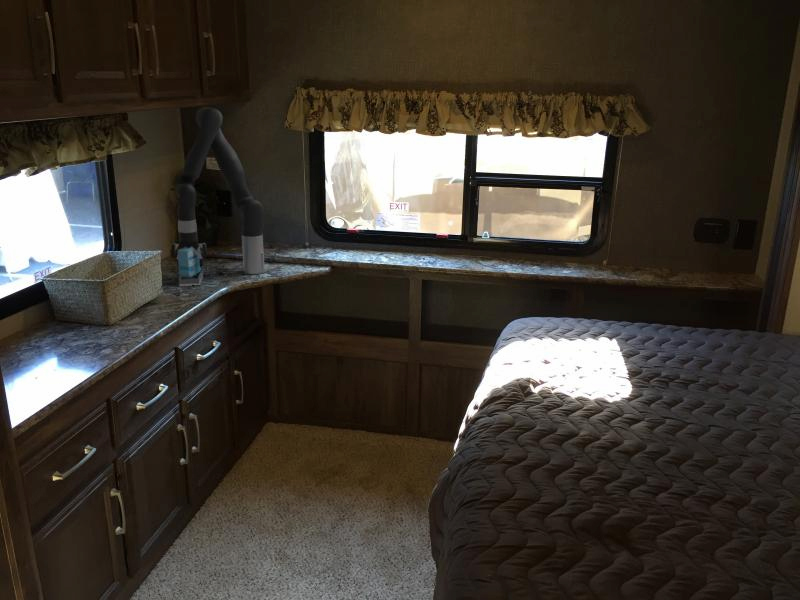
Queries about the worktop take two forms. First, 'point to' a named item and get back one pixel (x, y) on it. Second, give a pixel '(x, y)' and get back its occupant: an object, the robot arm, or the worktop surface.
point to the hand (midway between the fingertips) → (190, 267)
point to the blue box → (188, 262)
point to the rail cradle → (191, 279)
